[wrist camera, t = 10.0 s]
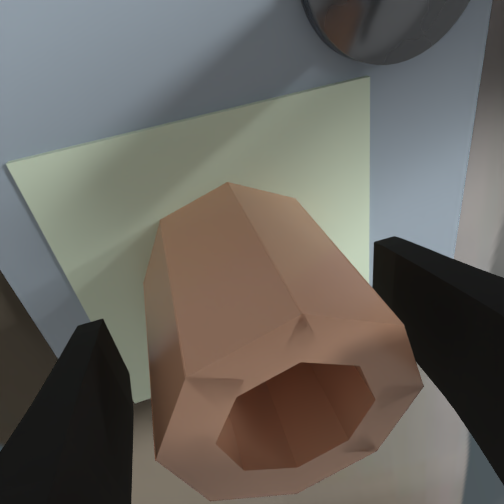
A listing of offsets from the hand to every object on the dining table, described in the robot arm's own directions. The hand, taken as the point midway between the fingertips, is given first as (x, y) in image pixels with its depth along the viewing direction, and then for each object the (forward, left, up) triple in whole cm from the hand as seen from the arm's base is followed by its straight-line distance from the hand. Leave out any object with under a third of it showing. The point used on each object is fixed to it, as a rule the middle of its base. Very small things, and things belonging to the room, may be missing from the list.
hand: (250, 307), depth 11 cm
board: (+10, -7, -3) cm, 12 cm away
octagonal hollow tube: (0, 0, -2) cm, 2 cm away
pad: (0, 0, -3) cm, 3 cm away
